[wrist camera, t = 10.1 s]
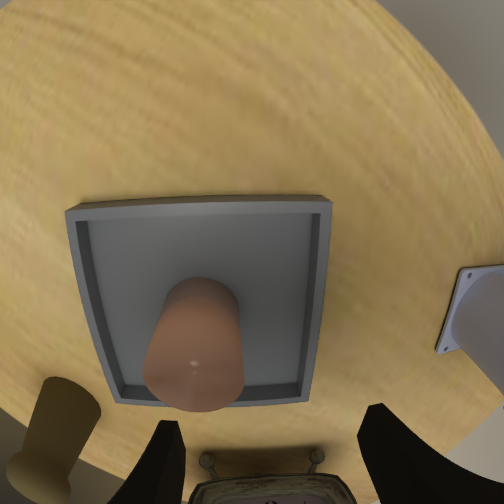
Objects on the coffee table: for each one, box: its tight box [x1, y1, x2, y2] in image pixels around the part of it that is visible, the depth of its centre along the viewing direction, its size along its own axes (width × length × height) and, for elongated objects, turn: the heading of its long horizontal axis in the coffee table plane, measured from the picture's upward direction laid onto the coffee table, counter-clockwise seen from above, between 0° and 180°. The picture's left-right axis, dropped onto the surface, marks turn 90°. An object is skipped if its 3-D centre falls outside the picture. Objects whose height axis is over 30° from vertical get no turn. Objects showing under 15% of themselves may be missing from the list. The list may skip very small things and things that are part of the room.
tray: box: [65, 195, 333, 407], centre depth 18 cm, size 14×14×2 cm
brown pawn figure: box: [6, 377, 101, 504], centre depth 16 cm, size 6×6×11 cm
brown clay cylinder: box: [142, 277, 245, 412], centre depth 15 cm, size 5×5×6 cm
